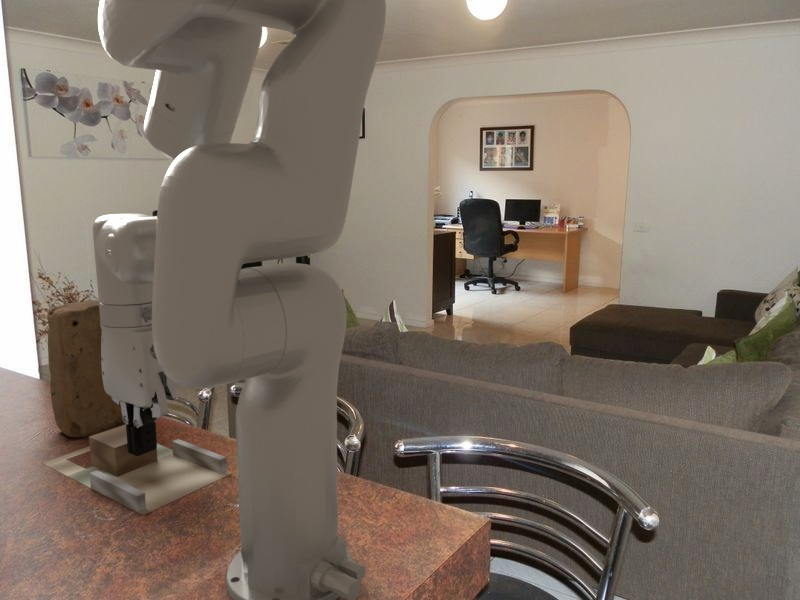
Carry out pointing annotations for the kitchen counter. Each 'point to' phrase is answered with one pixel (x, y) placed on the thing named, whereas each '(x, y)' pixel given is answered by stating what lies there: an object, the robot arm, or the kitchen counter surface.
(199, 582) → the kitchen counter surface
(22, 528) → the kitchen counter surface
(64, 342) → the block
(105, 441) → the walnut block
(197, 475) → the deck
